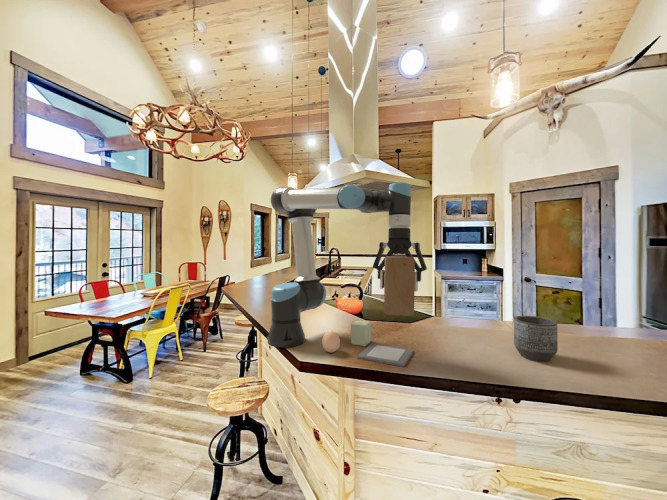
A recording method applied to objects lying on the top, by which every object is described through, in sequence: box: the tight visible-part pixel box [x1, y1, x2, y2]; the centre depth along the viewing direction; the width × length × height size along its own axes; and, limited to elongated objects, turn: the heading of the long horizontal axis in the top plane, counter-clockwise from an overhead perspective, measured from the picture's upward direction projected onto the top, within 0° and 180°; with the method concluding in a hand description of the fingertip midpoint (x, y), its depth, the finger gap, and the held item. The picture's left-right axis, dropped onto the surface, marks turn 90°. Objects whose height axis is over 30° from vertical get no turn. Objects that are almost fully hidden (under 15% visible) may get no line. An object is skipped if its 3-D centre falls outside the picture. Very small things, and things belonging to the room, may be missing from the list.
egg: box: [321, 329, 341, 353], centre depth 103 cm, size 7×7×8 cm
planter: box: [513, 315, 559, 363], centre depth 96 cm, size 12×12×13 cm
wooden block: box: [383, 255, 416, 317], centre depth 99 cm, size 10×10×20 cm
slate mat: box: [357, 342, 414, 368], centre depth 100 cm, size 16×14×1 cm
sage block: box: [350, 319, 372, 347], centre depth 113 cm, size 6×6×8 cm
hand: (398, 289), depth 100 cm, fingers closed on wooden block, 11 cm apart
